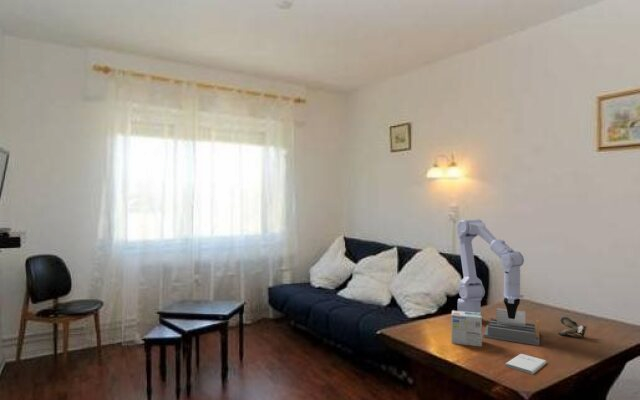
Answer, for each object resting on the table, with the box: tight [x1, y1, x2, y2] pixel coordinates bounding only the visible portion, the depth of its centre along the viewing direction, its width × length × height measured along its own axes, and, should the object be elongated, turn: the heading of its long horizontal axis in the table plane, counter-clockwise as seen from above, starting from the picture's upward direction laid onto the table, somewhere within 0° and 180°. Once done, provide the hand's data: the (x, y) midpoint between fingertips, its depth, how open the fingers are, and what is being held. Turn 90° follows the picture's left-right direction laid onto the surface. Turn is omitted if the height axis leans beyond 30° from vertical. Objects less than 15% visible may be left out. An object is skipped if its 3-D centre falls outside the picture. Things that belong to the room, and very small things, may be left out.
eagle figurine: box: [557, 316, 588, 339], centre depth 159 cm, size 8×7×9 cm
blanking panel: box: [496, 307, 526, 328], centre depth 158 cm, size 10×2×6 cm, turn 62°
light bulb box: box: [450, 309, 483, 347], centre depth 151 cm, size 11×7×11 cm, turn 71°
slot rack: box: [482, 317, 540, 346], centre depth 158 cm, size 19×14×7 cm
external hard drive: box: [504, 353, 547, 375], centre depth 131 cm, size 2×8×12 cm
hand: (511, 317), depth 158 cm, fingers closed on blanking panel, 1 cm apart
